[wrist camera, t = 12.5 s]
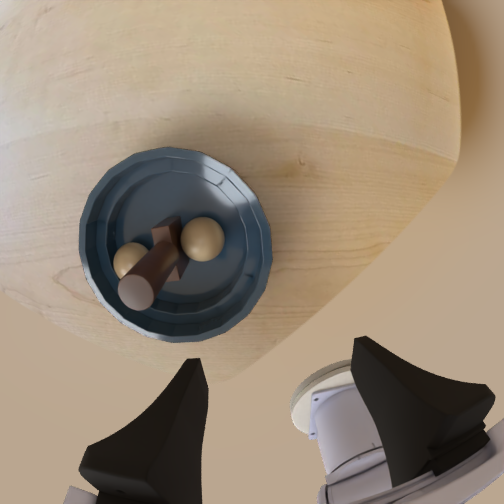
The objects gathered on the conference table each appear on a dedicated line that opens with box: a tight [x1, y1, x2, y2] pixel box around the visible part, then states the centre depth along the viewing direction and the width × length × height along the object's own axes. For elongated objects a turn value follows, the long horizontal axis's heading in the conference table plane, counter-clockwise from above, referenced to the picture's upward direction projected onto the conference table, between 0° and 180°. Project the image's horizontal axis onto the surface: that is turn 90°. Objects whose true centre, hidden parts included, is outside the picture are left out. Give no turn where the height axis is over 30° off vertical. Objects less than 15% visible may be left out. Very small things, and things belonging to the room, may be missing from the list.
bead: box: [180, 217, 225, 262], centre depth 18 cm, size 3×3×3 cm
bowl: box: [79, 147, 273, 343], centre depth 18 cm, size 13×13×4 cm
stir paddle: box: [118, 216, 189, 311], centre depth 15 cm, size 4×2×9 cm, turn 7°
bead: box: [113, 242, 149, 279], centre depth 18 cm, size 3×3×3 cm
